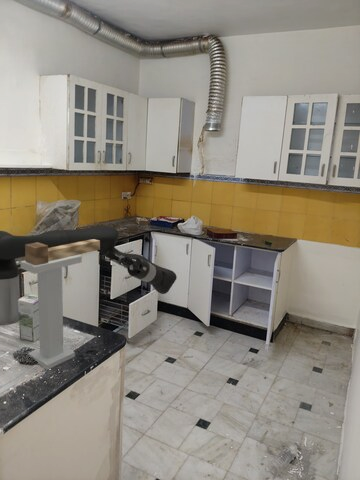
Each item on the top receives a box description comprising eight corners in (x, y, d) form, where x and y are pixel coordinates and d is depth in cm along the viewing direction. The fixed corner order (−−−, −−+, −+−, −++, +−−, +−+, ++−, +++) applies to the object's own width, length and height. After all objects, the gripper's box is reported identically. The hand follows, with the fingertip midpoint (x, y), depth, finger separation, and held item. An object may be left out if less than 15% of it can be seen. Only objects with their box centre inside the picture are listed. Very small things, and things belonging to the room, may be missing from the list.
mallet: (91, 247, 127) (91, 232, 126) (101, 250, 125) (102, 235, 123) (25, 261, 109) (25, 244, 108) (35, 265, 106) (35, 248, 105)
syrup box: (44, 334, 133) (43, 295, 129) (33, 342, 127) (32, 302, 124) (30, 331, 134) (28, 293, 131) (19, 339, 129) (17, 299, 125)
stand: (66, 341, 129) (64, 250, 122) (85, 351, 124) (84, 257, 116) (22, 359, 117) (17, 260, 109) (41, 372, 111) (37, 268, 104)
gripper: (152, 283, 141) (125, 271, 128) (125, 274, 150) (97, 261, 137) (159, 265, 143) (134, 250, 130) (132, 256, 151) (105, 242, 138)
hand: (115, 256), depth 133 cm, fingers open, 8 cm apart
